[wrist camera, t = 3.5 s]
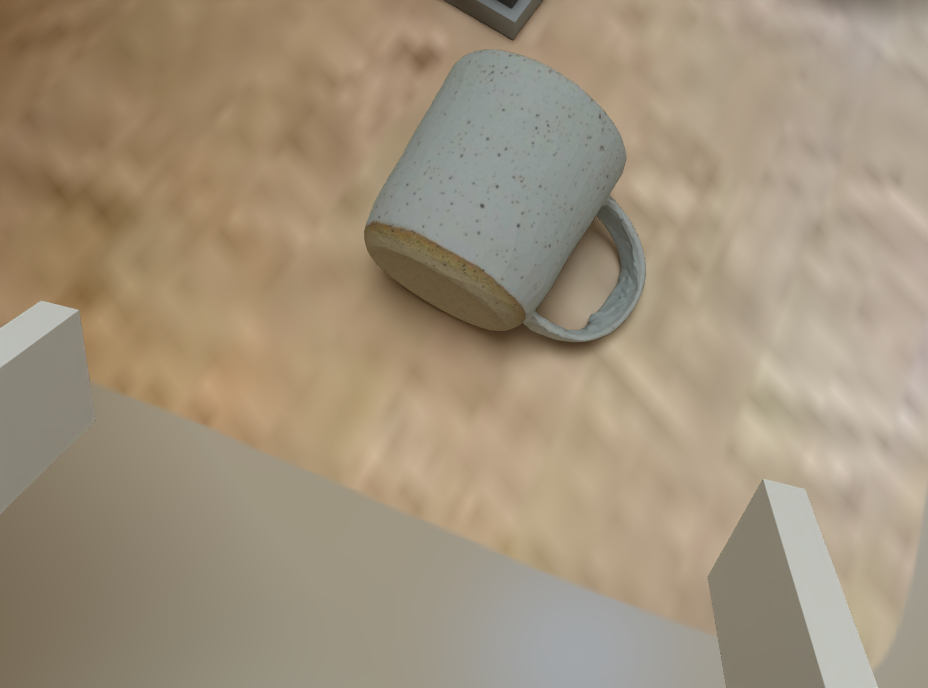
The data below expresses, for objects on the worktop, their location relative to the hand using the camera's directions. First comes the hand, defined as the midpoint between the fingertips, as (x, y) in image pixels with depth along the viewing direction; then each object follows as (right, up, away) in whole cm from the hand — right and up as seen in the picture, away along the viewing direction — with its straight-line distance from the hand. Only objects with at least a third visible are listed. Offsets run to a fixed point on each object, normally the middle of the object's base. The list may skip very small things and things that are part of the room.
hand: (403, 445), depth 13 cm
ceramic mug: (+3, +6, +17) cm, 18 cm away
